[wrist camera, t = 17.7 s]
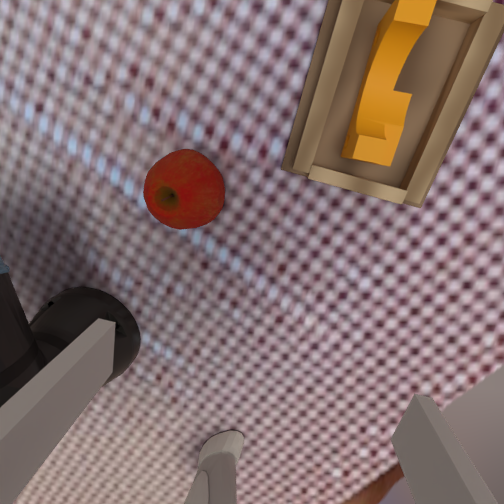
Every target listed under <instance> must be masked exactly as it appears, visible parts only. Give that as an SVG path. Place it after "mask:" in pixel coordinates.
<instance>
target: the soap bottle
mask: <svg viewBox="0 0 504 504" xmlns="http://www.w3.org/2000/svg"><path fill="white" fill-rule="evenodd" d="M243 444H244V436H243V435H242V433H240V432H238V431H232V430H230V431H226V432H222V433H219V434H217V435H215V436H213V437H211V438H210V439H209V440H208V441H207V442H206V443H205V444H204V445H203V447H202V449H201V451H200V453H199V459H198V471H197V474H196V476H195V479H194V481H193V484H192V487H191V489H190V491H189V494H188V496H187V498H186V500H185V503H184V504H236V501H237V495H236V464H237V462H238V460H239V457H240V454H241V451H242V448H243Z"/></svg>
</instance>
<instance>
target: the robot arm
mask: <svg viewBox="0 0 504 504" xmlns="http://www.w3.org/2000/svg"><path fill="white" fill-rule="evenodd" d="M9 271H10V269H9V267H8V266H7V265H5V264H4V262H3V260H2V258H1V256H0V504H12V503H13V502H14V501H15V499H16V498H17V497H18V495H19V494H20V493H21V491H22V490H23V489H24V487H25V486H26V485H27V484H28V482H29V481H30V480H31V478H32V477H33V476H34V474H35V473H36V472H37V470H38V469H39V468H40V467H41V465H42V464H43V463H44V461H45V460H46V459H47V457H48V456H49V455H50V453H51V452H52V451H53V449H54V448H55V447H56V446H57V444H58V443H59V442H60V440H61V439H62V438H63V436H64V435H65V434H66V432H67V431H68V430H69V429H70V427H71V426H72V425H73V423H74V422H75V421H76V419H77V418H78V417H79V415H80V414H81V413H82V412H83V410H84V409H85V408H86V406H87V405H88V404H89V402H90V401H91V400H92V398H93V397H94V396H95V395H96V393H97V392H98V391H99V389H100V388H101V387H103V386H104V385H106V384H107V383H109V382H110V381H112V380H113V379H114V378H116V377H118V376H119V375H121V374H122V373H123V372H124V371H125V370H126V369H127V368H128V367H129V366H130V364H131V363H132V362H133V360H134V359H135V358H136V356H137V354H138V351H139V348H140V334H139V330H138V327H137V324H136V322H135V320H134V318H133V317H132V315H131V314H130V312H129V311H128V310H127V309H126V308H125V307H124V306H123V305H122V304H121V303H120V302H119V301H118V300H116V299H115V298H113V297H112V296H110V295H108V294H106V293H104V292H102V291H99V290H96V289H92V288H86V287H76V288H71V289H67V290H65V291H63V292H61V293H59V294H58V295H56V296H55V297H53V298H51V299H50V300H49V301H47V302H46V303H45V304H44V305H43V306H42V308H41V309H40V310H39V312H38V313H37V314H36V315H35V317H34V318H33V319H32V321H31V322H30V323H28V321H27V318H26V316H25V313H24V311H23V308H22V306H21V303H20V301H19V298H18V296H17V293H16V291H15V289H14V286H13V284H12V281H11V279H10V276H9V274H8V272H9ZM391 442H392V444H393V447H394V450H395V452H396V455H397V457H398V460H399V462H400V465H401V468H402V470H403V473H404V475H405V478H406V481H407V483H408V486H409V488H410V491H411V494H412V496H413V499H414V501H415V504H498V503H497V501H496V500H495V498H494V496H493V495H492V493H491V492H490V490H489V488H488V487H487V485H486V484H485V482H484V480H483V479H482V477H481V475H480V474H479V472H478V471H477V469H476V467H475V466H474V464H473V463H472V461H471V459H470V458H469V456H468V455H467V453H466V451H465V450H464V448H463V447H462V445H461V443H460V442H459V440H458V439H457V437H456V435H455V434H454V432H453V430H452V429H451V427H450V426H449V424H448V422H447V421H446V419H445V418H444V416H443V414H442V413H441V411H440V410H439V408H438V406H437V405H436V403H435V402H434V400H433V398H430V397H426V396H422V395H417V394H414V396H413V398H412V400H411V402H410V404H409V405H408V407H407V409H406V411H405V413H404V415H403V417H402V419H401V421H400V423H399V425H398V426H397V428H396V430H395V432H394V434H393V436H392V438H391Z"/></svg>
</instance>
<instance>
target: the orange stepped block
mask: <svg viewBox="0 0 504 504" xmlns="http://www.w3.org/2000/svg"><path fill="white" fill-rule="evenodd" d="M436 1H437V0H395V1H394V2H393V3H392V5H391V6H390V8H389V9H388V11H387V12H386V14H385V15H384V17H383V18H382V20H381V21H380V23H379V24H378V27H377V30H376V34H375V37H374V41H373V44H372V48H371V51H370V55H369V58H368V62H367V65H366V69H365V72H364V76H363V79H362V83H361V86H360V90H359V94H358V97H357V101H356V104H355V108H354V111H353V115H352V118H351V122H350V125H349V129H348V132H347V136H346V139H345V143H344V146H343V150H342V153H341V157H343V158H348V159H353V160H358V161H363V162H368V163H373V164H378V165H383V166H391V163H392V160H393V157H394V154H395V151H396V148H397V146H398V143H399V140H400V137H401V134H402V131H403V128H404V122H405V117H406V112H407V109H408V105H409V102H410V99H411V96H412V94H409V93H404V92H398V91H393V89H394V87H395V84H396V81H397V79H398V76H399V74H400V72H401V69H402V67H403V65H404V63H405V61H406V59H407V57H408V55H409V53H410V51H411V49H412V48H413V46H414V44H415V43H416V41H417V39H418V38H419V36H420V35H421V34H422V32H423V31H424V30H425V29H426V28H427V27H428V25H429V22H430V19H431V16H432V13H433V10H434V7H435V4H436Z"/></svg>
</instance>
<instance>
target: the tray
mask: <svg viewBox="0 0 504 504" xmlns="http://www.w3.org/2000/svg"><path fill="white" fill-rule="evenodd" d="M394 1H395V0H329V1H328V4H327V8H326V11H325V15H324V18H323V22H322V26H321V29H320V33H319V36H318V40H317V43H316V47H315V50H314V54H313V57H312V61H311V65H310V68H309V72H308V75H307V79H306V82H305V86H304V89H303V93H302V96H301V100H300V104H299V107H298V111H297V114H296V118H295V121H294V125H293V128H292V132H291V135H290V139H289V143H288V146H287V150H286V153H285V157H284V160H283V164H282V167H281V170H285V171H288V172H292V173H295V174H299V175H303V176H306V177H307V178H308V179H312V180H315V181H319V182H322V183H326V184H330V185H333V186H337V187H340V188H344V189H348V190H351V191H355V192H358V193H362V194H366V195H369V196H373V197H377V198H380V199H384V200H387V201H391V202H395V203H398V204H402V203H404V204H407V205H411V206H415V207H418V208H421V207H422V204H423V202H424V200H425V198H426V196H427V194H428V192H429V190H430V187H431V185H432V183H433V181H434V179H435V177H436V175H437V173H438V170H439V168H440V166H441V164H442V162H443V160H444V158H445V156H446V153H447V151H448V149H449V147H450V145H451V143H452V141H453V139H454V136H455V134H456V132H457V130H458V128H459V126H460V124H461V122H462V119H463V117H464V115H465V113H466V111H467V109H468V107H469V105H470V102H471V100H472V98H473V96H474V94H475V92H476V90H477V88H478V85H479V83H480V81H481V79H482V77H483V75H484V73H485V71H486V68H487V66H488V64H489V62H490V60H491V58H492V56H493V54H494V51H495V49H496V47H497V45H498V43H499V41H500V39H501V37H502V34H503V32H504V5H502V4H498V3H494V2H492V1H493V0H437V1H436V4H435V7H434V10H433V13H432V16H431V19H430V22H429V25H428V27H427V28H426V29H425V30H424V31H423V32H422V34H421V35H420V36H419V38H418V39H417V41H416V43H415V44H414V46H413V48H412V49H411V51H410V53H409V55H408V57H407V59H406V61H405V63H404V65H403V67H402V69H401V72H400V74H399V76H398V79H397V81H396V84H395V87H394V89H393V91H398V92H404V93H409V94H412V96H411V99H410V102H409V105H408V109H407V112H406V117H405V122H404V128H403V131H402V134H401V137H400V140H399V143H398V146H397V148H396V151H395V154H394V157H393V160H392V163H391V166H383V165H378V164H373V163H368V162H363V161H358V160H353V159H348V158H343V157H341V153H342V150H343V146H344V143H345V139H346V136H347V132H348V129H349V125H350V122H351V118H352V115H353V111H354V108H355V104H356V101H357V97H358V94H359V90H360V86H361V83H362V79H363V76H364V72H365V69H366V65H367V62H368V58H369V55H370V51H371V48H372V44H373V41H374V37H375V34H376V30H377V27H378V24H379V23H380V21H381V20H382V18H383V17H384V15H385V14H386V12H387V11H388V9H389V8H390V6H391V5H392V3H393V2H394Z"/></svg>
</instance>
